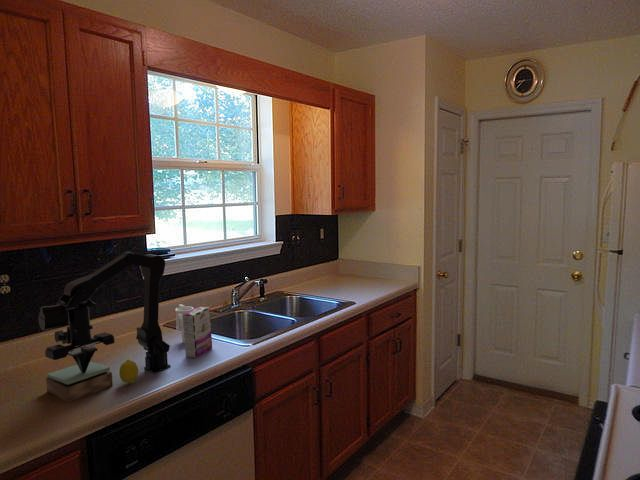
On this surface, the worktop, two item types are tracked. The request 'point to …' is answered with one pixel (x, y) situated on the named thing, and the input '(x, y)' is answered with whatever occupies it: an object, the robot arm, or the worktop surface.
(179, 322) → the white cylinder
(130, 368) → the lemon
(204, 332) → the candy bar box
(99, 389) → the tray
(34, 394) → the worktop surface
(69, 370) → the lid
